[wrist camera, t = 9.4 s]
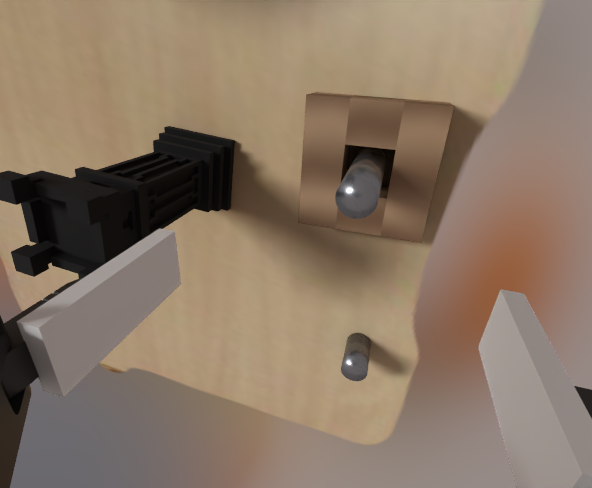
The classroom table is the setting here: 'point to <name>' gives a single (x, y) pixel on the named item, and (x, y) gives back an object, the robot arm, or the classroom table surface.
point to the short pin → (356, 357)
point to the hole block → (379, 134)
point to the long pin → (362, 184)
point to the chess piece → (117, 201)
